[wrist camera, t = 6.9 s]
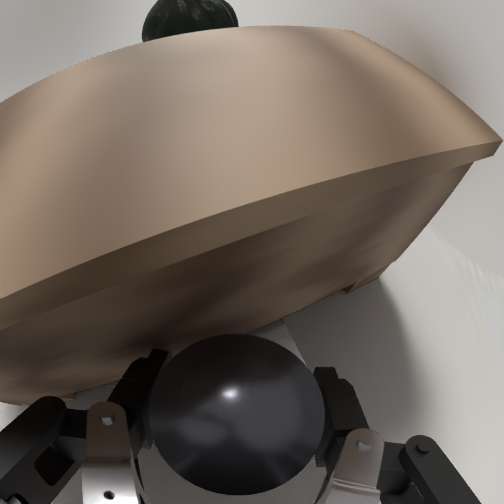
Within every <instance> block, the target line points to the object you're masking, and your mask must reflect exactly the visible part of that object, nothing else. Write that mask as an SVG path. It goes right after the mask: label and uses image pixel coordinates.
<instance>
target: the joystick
mask: <svg viewBox="0 0 504 504" xmlns="http://www.w3.org/2000/svg"><path fill="white" fill-rule="evenodd" d="M324 422H325V409H324V402H323V398H322V394H321V391H320V388H319V386H318V384H317V381H316V379H315V378H314V376H313V375H312V373H311V371H310V370H309V368H308V367H307V365H306V363H305V361H304V359H303V357H302V355H301V353H300V351H299V349H298V347H297V346H296V344H295V342H294V340H293V338H292V336H291V334H290V332H289V330H288V328H287V326H286V325H285V323H284V321H283V319H282V318H280V319H278V320H275V321H273V322H271V323H269V324H266V325H264V326H262V327H259V328H257V329H255V330H252V331H250V332H248V333H245V334H223V335H218V336H212V337H209V338H206V339H203V340H200V341H198V342H196V343H194V344H191V345H190V346H188V347H187V348H185V349H183V350H182V351H181V352H179V353H178V354H177V355H176V356H174V357H173V358H172V359H171V360H170V361H169V363H168V364H167V365H166V366H165V367H164V369H163V370H162V371H161V373H160V375H159V376H158V378H157V380H156V382H155V385H154V387H153V390H152V393H151V398H150V402H149V424H150V429H151V433H152V437H153V439H154V442H155V444H156V446H157V448H158V450H159V452H160V454H161V455H162V457H163V458H164V459H165V461H166V462H167V463H168V465H169V466H170V467H171V468H172V469H173V470H174V471H175V472H176V473H178V474H179V475H180V476H181V477H183V478H184V479H185V480H187V481H189V482H190V483H192V484H194V485H196V486H198V487H200V488H203V489H205V490H208V491H211V492H215V493H219V494H225V495H252V494H257V493H261V492H265V491H268V490H271V489H274V488H276V487H278V486H280V485H282V484H284V483H286V482H287V481H289V480H290V479H292V478H293V477H294V476H296V475H297V474H298V473H299V472H300V471H301V470H302V469H303V468H304V467H305V466H306V465H307V463H308V462H309V461H310V460H311V458H312V457H313V455H314V453H315V452H316V450H317V448H318V445H319V443H320V441H321V437H322V434H323V429H324Z"/></svg>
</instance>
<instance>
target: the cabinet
mask: <svg viewBox="0 0 504 504" xmlns="http://www.w3.org/2000/svg"><path fill="white" fill-rule="evenodd" d="M502 141H503V140H502V139H501V137H500V136H499V135H498V134H497V133H496V132H495V131H494V130H493V129H492V128H491V127H490V126H489V125H488V124H487V123H486V122H485V121H484V120H482V119H481V118H480V117H479V116H478V115H477V114H476V113H475V112H474V111H473V110H471V109H470V108H469V107H468V106H467V105H466V104H465V103H463V102H462V101H461V100H460V99H459V98H457V97H456V96H455V95H454V94H453V93H451V92H450V91H449V90H448V89H446V88H445V87H444V86H442V85H441V84H440V83H438V82H437V81H435V80H434V79H433V78H432V77H430V76H429V75H427V74H426V73H424V72H423V71H421V70H420V69H419V68H417V67H416V66H414V65H412V64H411V63H409V62H408V61H406V60H405V59H403V58H402V57H400V56H398V55H397V54H395V53H393V52H392V51H390V50H388V49H386V48H385V47H383V46H381V45H379V44H377V43H376V42H373V41H372V40H370V39H368V38H366V37H364V36H362V35H360V34H358V33H356V32H354V31H348V30H340V29H331V28H319V27H305V26H249V27H233V28H222V29H213V30H205V31H198V32H191V33H185V34H180V35H174V36H169V37H164V38H160V39H155V40H151V41H147V42H143V43H139V44H136V45H132V46H128V47H125V48H121V49H118V50H115V51H112V52H108V53H105V54H103V55H100V56H97V57H94V58H91V59H89V60H86V61H83V62H81V63H78V64H76V65H73V66H71V67H68V68H66V69H64V70H62V71H59V72H57V73H55V74H53V75H51V76H49V77H46V78H44V79H42V80H40V81H38V82H36V83H35V84H33V85H31V86H29V87H27V88H25V89H24V90H22V91H20V92H18V93H16V94H14V95H13V96H11V97H9V98H8V99H6V100H4V101H3V102H1V103H0V402H3V403H8V404H14V405H32V404H33V403H34V402H35V401H36V400H38V399H39V398H41V397H44V396H56V397H58V398H60V399H62V400H63V401H64V402H67V401H71V400H75V398H74V395H73V393H75V392H79V391H82V390H86V389H89V388H93V387H96V386H100V385H103V384H107V383H110V382H113V381H116V380H120V379H122V376H123V375H124V373H125V372H126V370H127V369H128V367H129V366H130V364H131V363H132V362H133V361H135V360H136V359H138V358H140V357H143V358H148V356H149V354H150V353H151V351H152V349H153V348H157V349H162V350H168V351H171V352H172V356H173V357H174V356H176V355H177V354H178V353H179V352H181V351H182V350H183V349H185V348H187V347H188V346H190V345H191V344H194V343H196V342H198V341H200V340H203V339H206V338H209V337H212V336H218V335H223V334H245V333H248V332H250V331H252V330H255V329H257V328H259V327H262V326H264V325H266V324H269V323H271V322H273V321H275V320H278V319H280V318H282V317H284V316H287V315H289V314H291V313H293V312H295V311H298V310H300V309H302V308H304V307H306V306H308V305H310V304H312V303H315V302H317V301H319V300H321V299H323V298H325V297H327V296H329V295H331V294H333V293H335V292H337V291H339V290H341V289H343V288H344V289H345V291H346V292H347V293H349V292H351V291H353V290H355V289H357V288H359V287H361V286H362V285H364V284H366V283H368V282H370V281H372V280H374V279H375V278H377V277H379V276H380V275H381V274H382V273H383V272H384V271H385V270H386V268H387V267H388V266H389V265H390V264H391V263H392V262H394V261H396V260H397V259H398V258H399V257H400V256H401V255H402V253H403V252H404V251H405V250H406V249H407V248H408V247H409V245H410V244H411V243H412V242H413V241H414V240H415V238H416V237H417V236H418V235H419V234H420V233H421V231H422V230H423V229H424V228H425V227H426V225H427V224H428V223H429V222H430V220H431V219H432V218H433V217H434V215H435V214H436V213H437V212H438V210H439V209H440V208H441V206H442V205H443V204H444V202H445V201H446V200H447V199H448V197H449V196H450V195H451V193H452V192H453V190H454V189H455V188H456V186H457V185H458V184H459V182H460V181H461V180H462V178H463V177H464V175H465V174H466V173H467V171H468V170H469V168H470V167H471V165H472V164H473V162H474V161H477V160H480V159H483V158H486V157H490V156H493V155H494V153H495V152H496V151H497V149H498V147H499V146H500V144H501V143H502Z"/></svg>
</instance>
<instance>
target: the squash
mask: <svg viewBox="0 0 504 504" xmlns="http://www.w3.org/2000/svg"><path fill="white" fill-rule="evenodd" d="M233 27H239V26H238V20H237V17H236V14H235V12H234V10H233V8H232V7H231V5H230V4H229V3H227V2H226V1H224V0H158V1H157V2H156V4H155V5H154V6H153V7H152V9H151V10H150V12H149V13H148V15H147V17H146V19H145V22H144V25H143V31H142V40H143V42H147V41H151V40H155V39H160V38H164V37H169V36H174V35H180V34H185V33H191V32H198V31H205V30H213V29H222V28H233Z"/></svg>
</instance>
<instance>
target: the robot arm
mask: <svg viewBox="0 0 504 504" xmlns="http://www.w3.org/2000/svg"><path fill="white" fill-rule="evenodd" d="M172 358H173V356H172V352H171V351H168V350H162V349H157V348H153V349H152V351H151V353H150V354H149V356H148V358H143V357H140V358H138V359H136V360H135V361H133V362H132V363H131V364H130V366H129V367H128V369H127V370H126V372H125V373H124V375H123V376H122V379H120V381H119V382H118V384H117V385H116V387H115V389H114V390H113V392H112V393H111V395H110V396H109V398H108V400H107V401H105V402H99V403H96V404H94V405H93V406H91V407H90V408H89V410H75V409H67V407H66V404H65V403H64V401H63V400H62V399H60V398H58V397H56V396H44V397H41V398H39V399H38V400H36V401H35V402H34V403H33V404H32V405H31V406H29V407H28V408H27V409H26V410H25V411H24V412H22V413H21V414H20V415H19V416H18V417H17V418H15V419H14V420H13V421H12V422H11V423H10V424H9V425H7V426H6V427H5V428H4V429H3V430H2V431H1V432H0V504H51V502H52V501H53V500H54V499H55V497H56V496H57V495H58V494H59V492H60V491H61V490H62V489H63V488H64V486H65V485H66V484H67V483H68V481H69V480H70V479H71V478H72V477H73V475H74V474H75V473H76V472H77V470H78V469H79V468H80V467H81V477H82V493H83V504H150V503H149V501H148V498H147V494H146V490H145V486H144V481H143V477H142V472H141V467H140V462H139V457H138V454H139V451H140V449H141V447H143V448H147V449H150V448H151V445H152V443H153V440H154V439H153V437H152V433H151V429H150V424H149V402H150V398H151V393H152V390H153V387H154V385H155V382H156V380H157V378H158V376H159V375H160V373H161V371H162V370H163V369H164V367H165V366H166V365H167V364H168V363H169V361H170V360H171V359H172ZM313 376H314V378H315V379H316V381H317V384H318V386H319V388H320V391H321V394H322V398H323V402H324V409H325V422H324V429H323V434H322V437H321V441H320V443H319V445H318V448H317V450H316V452H315V453H314V454H315V460H316V466H317V467H326V470H327V473H326V475H325V477H324V479H323V481H322V484H321V486H320V488H319V491H318V493H317V495H316V497H315V500H314V502H313V504H378V503H379V499H380V501H381V503H382V504H481V503H480V501H479V500H478V498H477V497H476V496H475V494H474V493H473V491H472V490H471V489H470V487H469V486H468V485H467V483H466V482H465V481H464V479H463V478H462V476H461V475H460V474H459V472H458V471H457V470H456V468H455V467H454V466H453V464H452V463H451V462H450V460H449V459H448V458H447V456H446V455H445V454H444V452H443V451H442V450H441V449H440V447H439V446H438V445H437V443H436V442H435V441H434V440H433V439H431V438H430V437H427V436H424V435H416V436H413V437H411V438H410V439H409V440H408V441H407V442H406V444H399V443H390V442H385V441H384V440H383V438H382V437H381V436H380V435H379V434H378V433H377V432H375V431H373V430H371V429H369V426H368V424H367V421H366V419H365V416H364V413H363V411H362V408H361V406H360V404H359V401H358V398H357V397H356V393H355V391H354V388H353V386H352V385H351V384H350V383H349V382H348V381H347V380H346V379H339V378H338V376H337V373H336V370H335V368H334V367H316V368H315V370H314V373H313ZM414 484H415V485H414ZM416 487H417V488H416ZM417 489H418V490H417ZM419 492H420V493H419ZM420 494H421V495H420ZM422 497H423V498H422Z"/></svg>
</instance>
